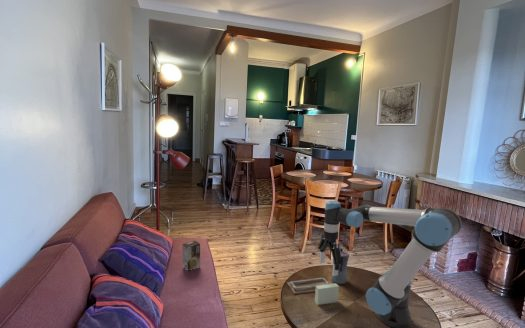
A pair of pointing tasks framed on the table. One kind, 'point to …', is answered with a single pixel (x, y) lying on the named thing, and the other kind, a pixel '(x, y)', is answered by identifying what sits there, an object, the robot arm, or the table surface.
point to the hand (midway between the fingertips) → (328, 268)
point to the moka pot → (341, 269)
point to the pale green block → (326, 294)
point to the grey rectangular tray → (306, 285)
